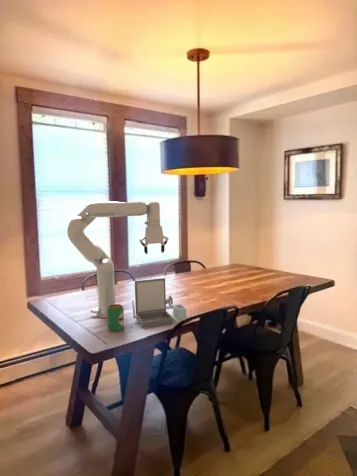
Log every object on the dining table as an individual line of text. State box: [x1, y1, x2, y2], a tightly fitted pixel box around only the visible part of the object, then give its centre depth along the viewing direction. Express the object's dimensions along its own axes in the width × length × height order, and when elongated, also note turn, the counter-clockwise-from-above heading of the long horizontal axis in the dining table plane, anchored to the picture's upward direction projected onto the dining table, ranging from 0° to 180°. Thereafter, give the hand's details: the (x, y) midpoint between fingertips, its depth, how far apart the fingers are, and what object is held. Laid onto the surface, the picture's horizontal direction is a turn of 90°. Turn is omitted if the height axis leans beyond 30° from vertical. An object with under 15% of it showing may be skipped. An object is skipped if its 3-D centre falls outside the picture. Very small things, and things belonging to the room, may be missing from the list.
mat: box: [170, 313, 189, 324], centre depth 198 cm, size 8×13×1 cm, turn 19°
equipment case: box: [131, 277, 175, 329], centre depth 192 cm, size 19×15×22 cm
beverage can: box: [107, 303, 125, 333], centre depth 182 cm, size 8×8×12 cm
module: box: [172, 304, 187, 320], centre depth 198 cm, size 5×8×6 cm, turn 19°
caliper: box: [166, 295, 174, 306], centre depth 217 cm, size 20×1×6 cm, turn 138°
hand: (154, 253), depth 209 cm, fingers open, 9 cm apart
